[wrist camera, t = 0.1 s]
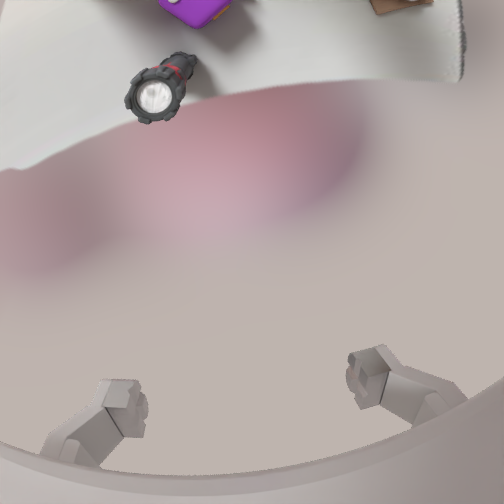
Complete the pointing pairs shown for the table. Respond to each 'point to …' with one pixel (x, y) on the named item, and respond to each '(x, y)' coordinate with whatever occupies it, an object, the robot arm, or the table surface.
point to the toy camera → (195, 10)
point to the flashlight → (160, 88)
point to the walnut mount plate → (394, 4)
